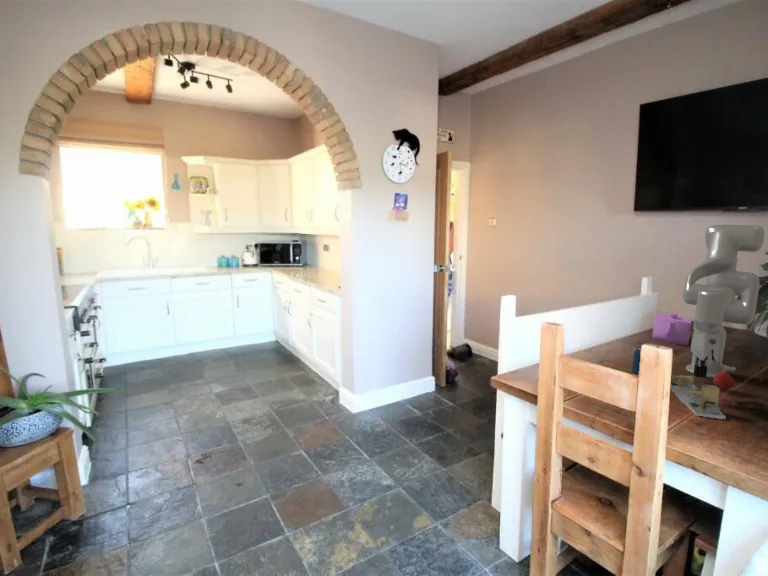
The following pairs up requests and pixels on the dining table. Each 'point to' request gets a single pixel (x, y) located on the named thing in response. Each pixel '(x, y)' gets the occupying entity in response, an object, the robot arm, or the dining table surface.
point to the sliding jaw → (707, 394)
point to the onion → (723, 380)
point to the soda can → (636, 361)
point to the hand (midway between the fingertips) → (699, 376)
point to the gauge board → (688, 398)
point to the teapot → (671, 329)
